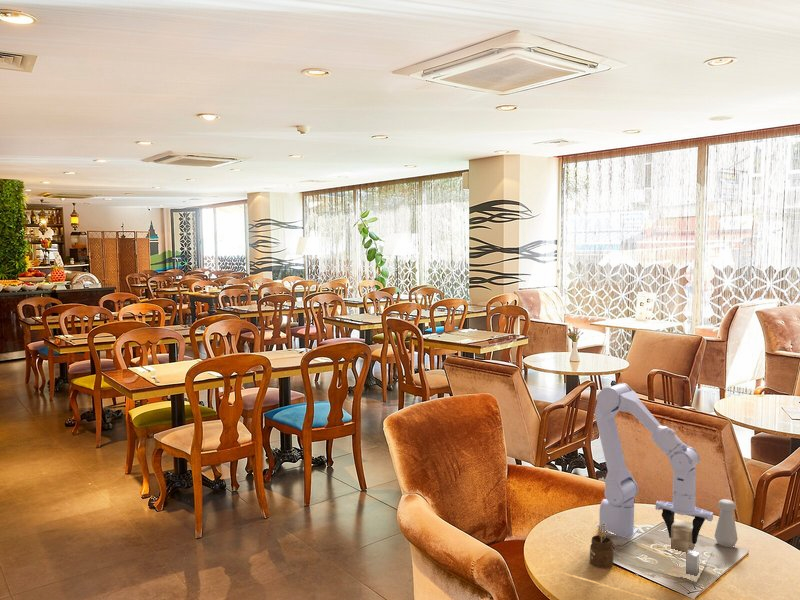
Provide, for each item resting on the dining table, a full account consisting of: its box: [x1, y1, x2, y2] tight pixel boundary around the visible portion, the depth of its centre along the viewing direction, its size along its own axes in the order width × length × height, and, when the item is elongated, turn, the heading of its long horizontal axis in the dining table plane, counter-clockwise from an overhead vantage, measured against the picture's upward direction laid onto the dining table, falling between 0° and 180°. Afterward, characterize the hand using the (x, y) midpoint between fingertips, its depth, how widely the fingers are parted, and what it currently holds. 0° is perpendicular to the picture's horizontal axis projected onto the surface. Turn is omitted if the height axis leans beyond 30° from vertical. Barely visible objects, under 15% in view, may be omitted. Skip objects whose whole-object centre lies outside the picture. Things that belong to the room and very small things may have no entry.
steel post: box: [686, 550, 699, 576], centre depth 166 cm, size 3×3×6 cm
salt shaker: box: [714, 499, 739, 548], centre depth 182 cm, size 6×6×13 cm
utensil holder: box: [589, 522, 614, 569], centre depth 172 cm, size 6×6×12 cm
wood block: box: [670, 518, 696, 552], centre depth 179 cm, size 5×5×7 cm
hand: (683, 539), depth 179 cm, fingers open, 5 cm apart
